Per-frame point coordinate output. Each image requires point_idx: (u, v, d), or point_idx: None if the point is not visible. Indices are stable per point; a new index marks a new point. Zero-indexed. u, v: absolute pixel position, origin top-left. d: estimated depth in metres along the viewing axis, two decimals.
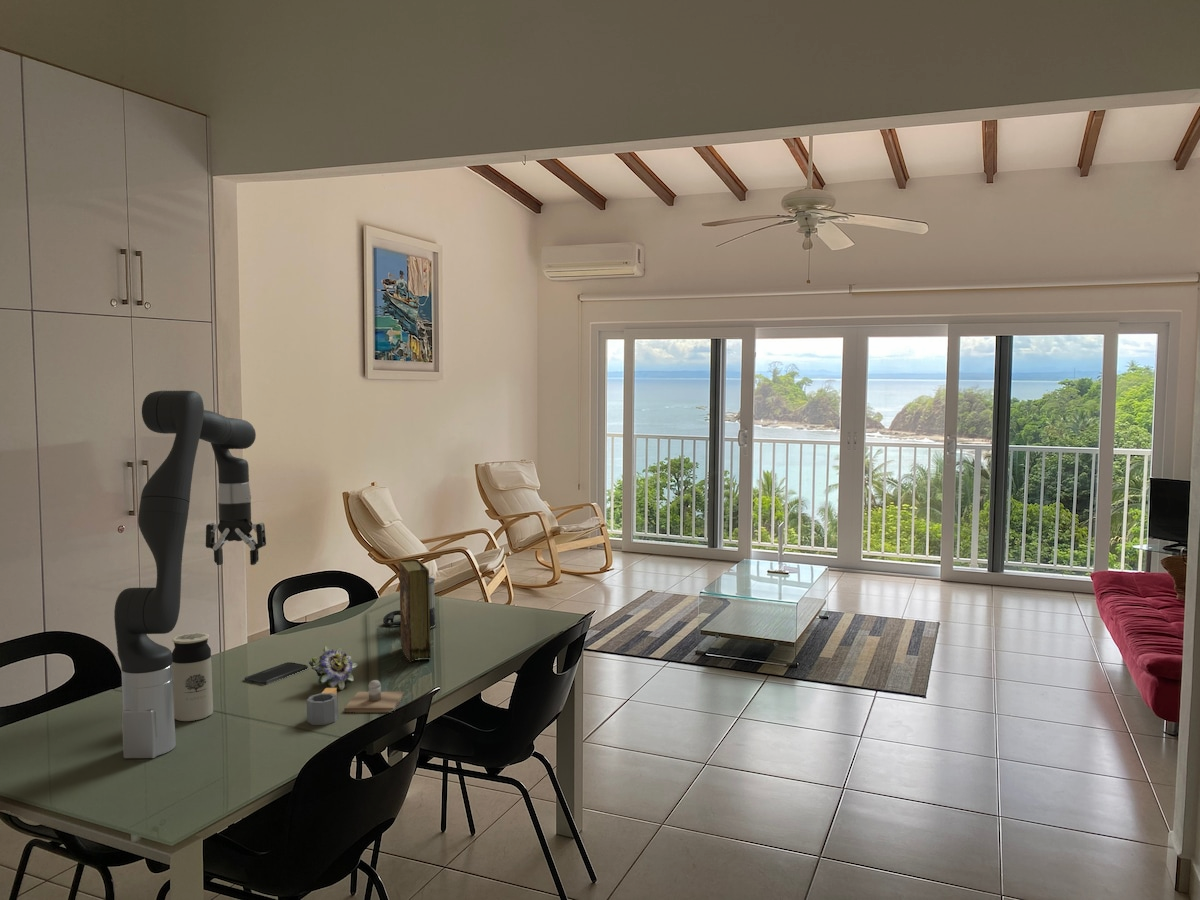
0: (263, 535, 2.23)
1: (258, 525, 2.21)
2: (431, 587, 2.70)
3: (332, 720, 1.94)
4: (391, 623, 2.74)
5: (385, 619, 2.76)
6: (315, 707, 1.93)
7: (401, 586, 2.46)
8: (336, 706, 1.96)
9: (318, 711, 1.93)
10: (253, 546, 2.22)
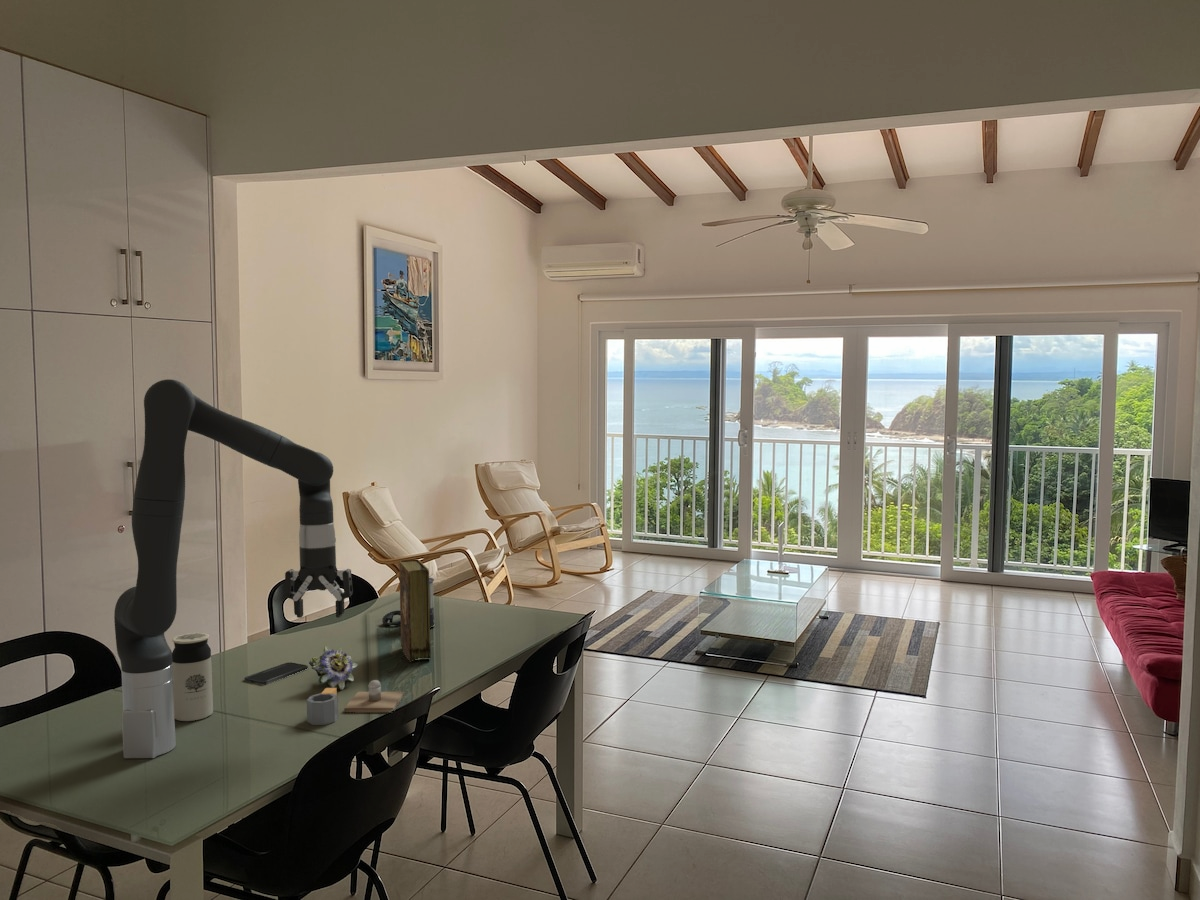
0: (350, 583, 1.94)
1: (345, 572, 1.93)
2: (430, 587, 2.70)
3: (332, 720, 1.94)
4: (390, 623, 2.74)
5: (384, 619, 2.76)
6: (315, 707, 1.93)
7: (401, 586, 2.46)
8: (336, 706, 1.96)
9: (318, 711, 1.93)
10: (339, 596, 1.93)
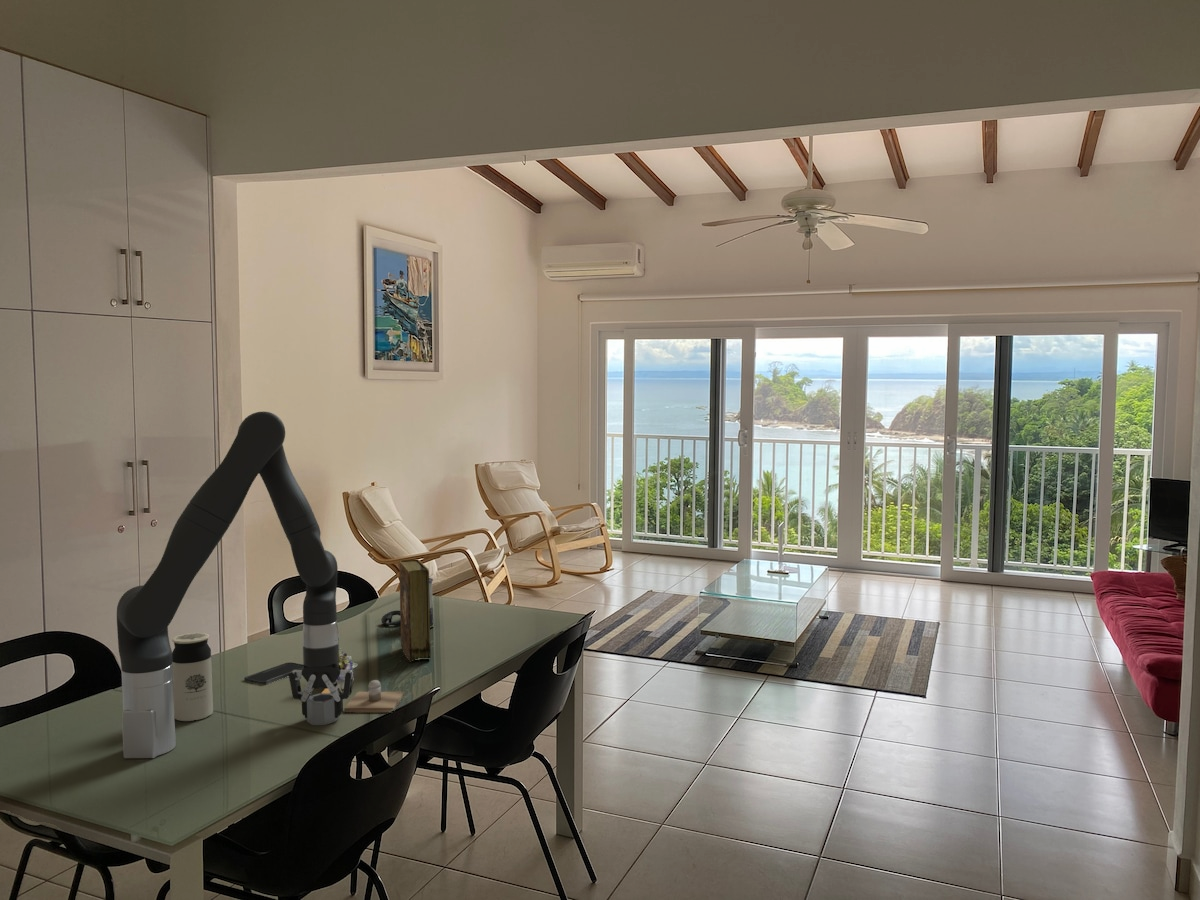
0: (351, 684, 1.95)
1: (348, 674, 1.94)
2: (429, 587, 2.70)
3: (332, 720, 1.94)
4: (389, 623, 2.74)
5: (383, 619, 2.76)
6: (315, 707, 1.93)
7: (401, 586, 2.46)
8: None
9: (318, 711, 1.93)
10: (338, 697, 1.94)
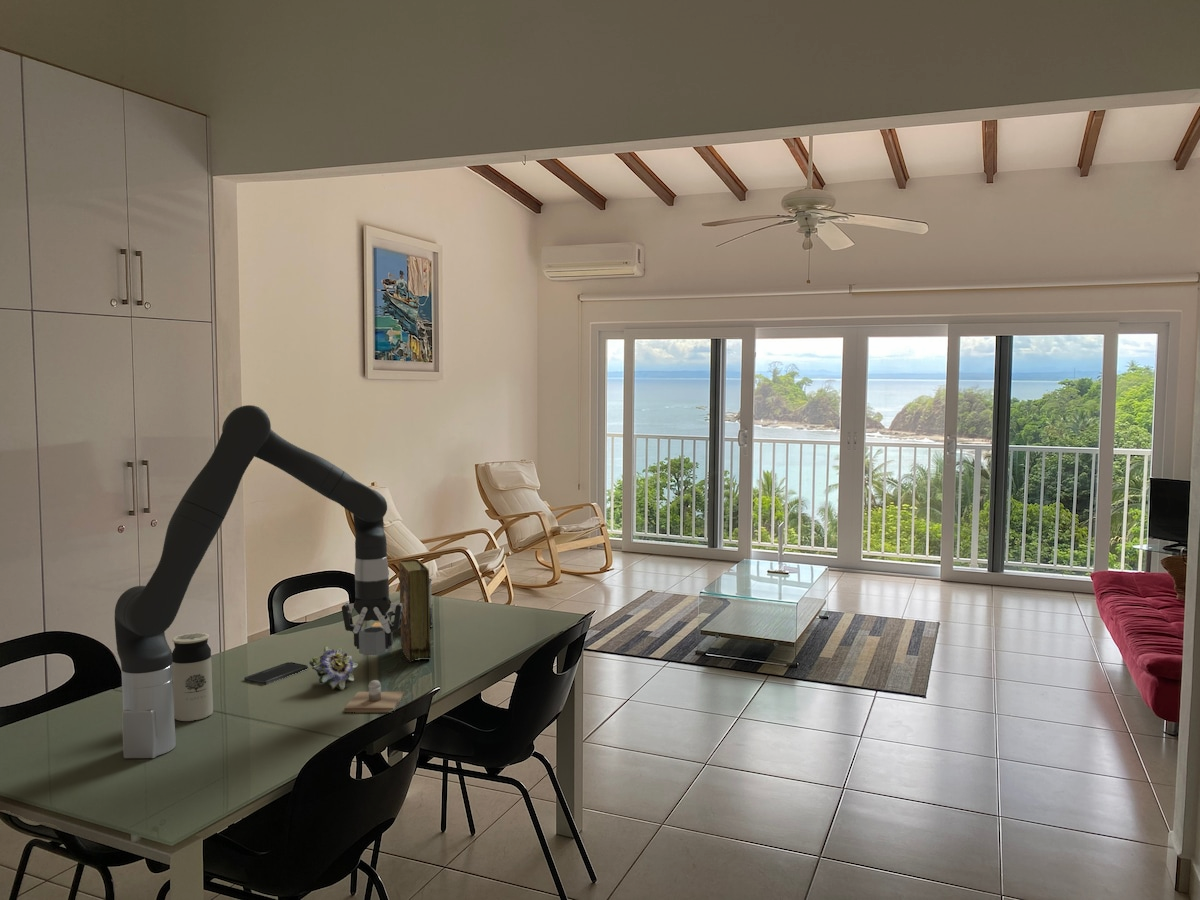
0: (400, 617, 2.05)
1: (398, 606, 2.03)
2: None
3: (383, 651, 2.04)
4: None
5: None
6: (367, 638, 2.02)
7: (401, 586, 2.46)
8: None
9: (370, 641, 2.02)
10: (388, 629, 2.04)
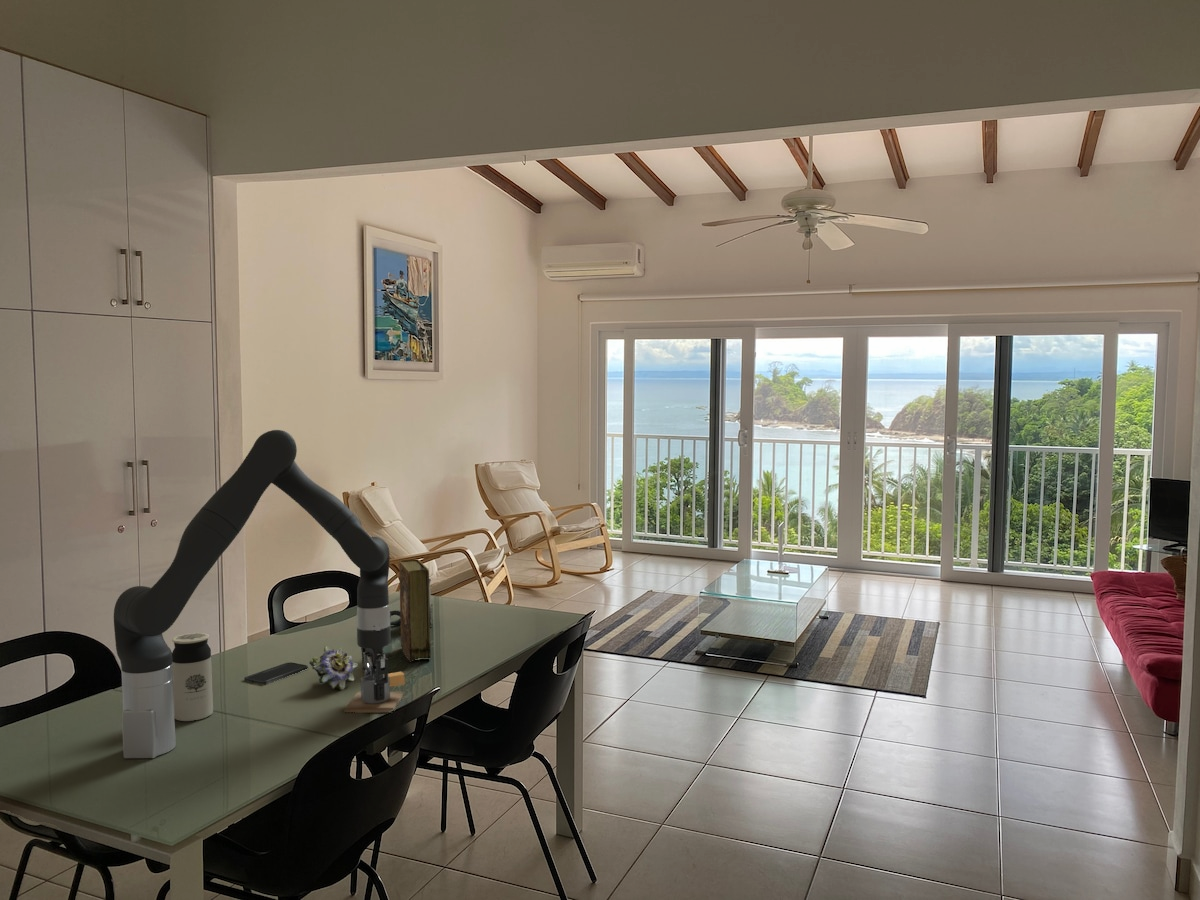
0: (382, 672, 2.00)
1: (376, 661, 1.99)
2: None
3: (371, 701, 2.03)
4: None
5: None
6: (361, 683, 2.04)
7: (401, 586, 2.46)
8: None
9: (362, 688, 2.04)
10: (374, 681, 2.01)
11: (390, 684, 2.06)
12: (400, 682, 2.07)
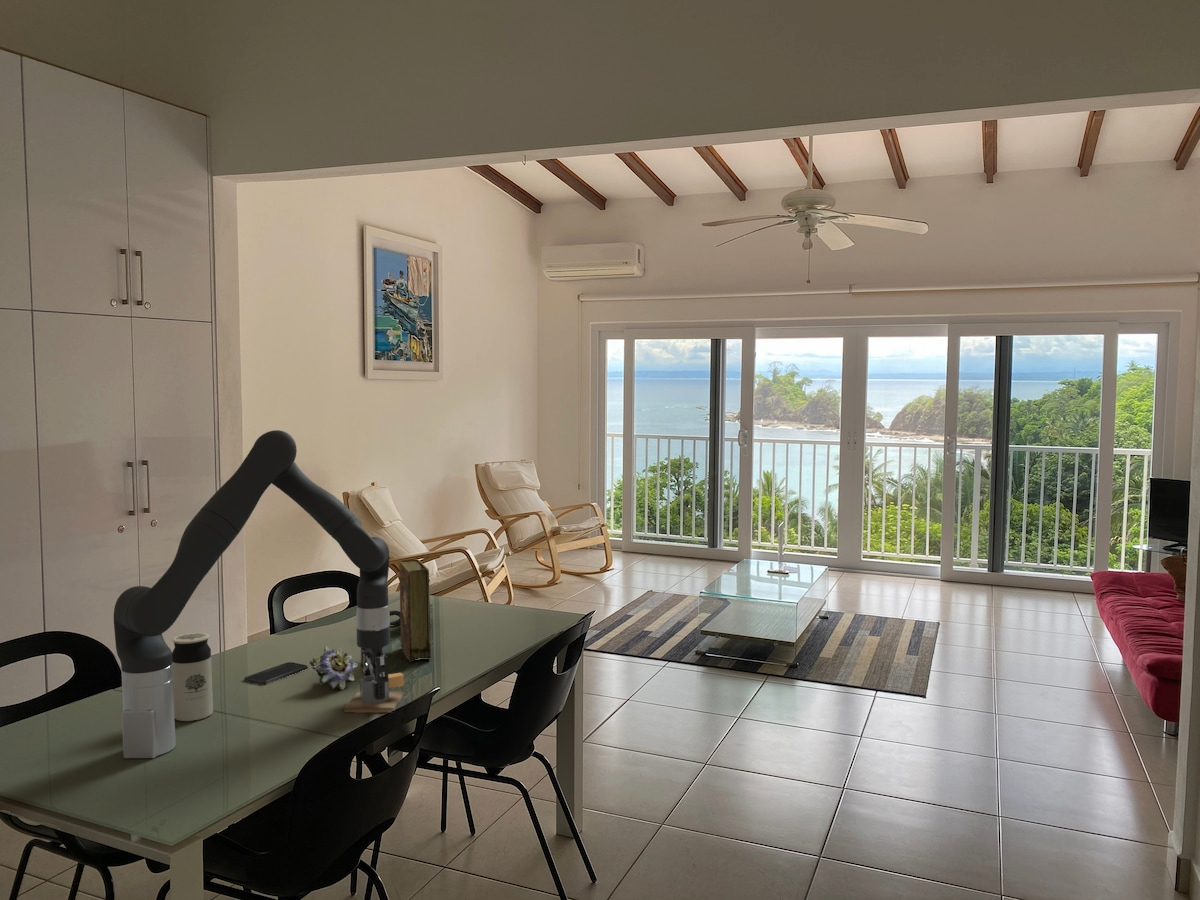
0: (382, 670, 1.99)
1: (375, 658, 1.99)
2: None
3: (371, 702, 2.03)
4: None
5: None
6: (360, 684, 2.05)
7: (401, 586, 2.46)
8: None
9: (361, 689, 2.04)
10: (374, 680, 2.01)
11: (389, 685, 2.06)
12: (399, 683, 2.07)
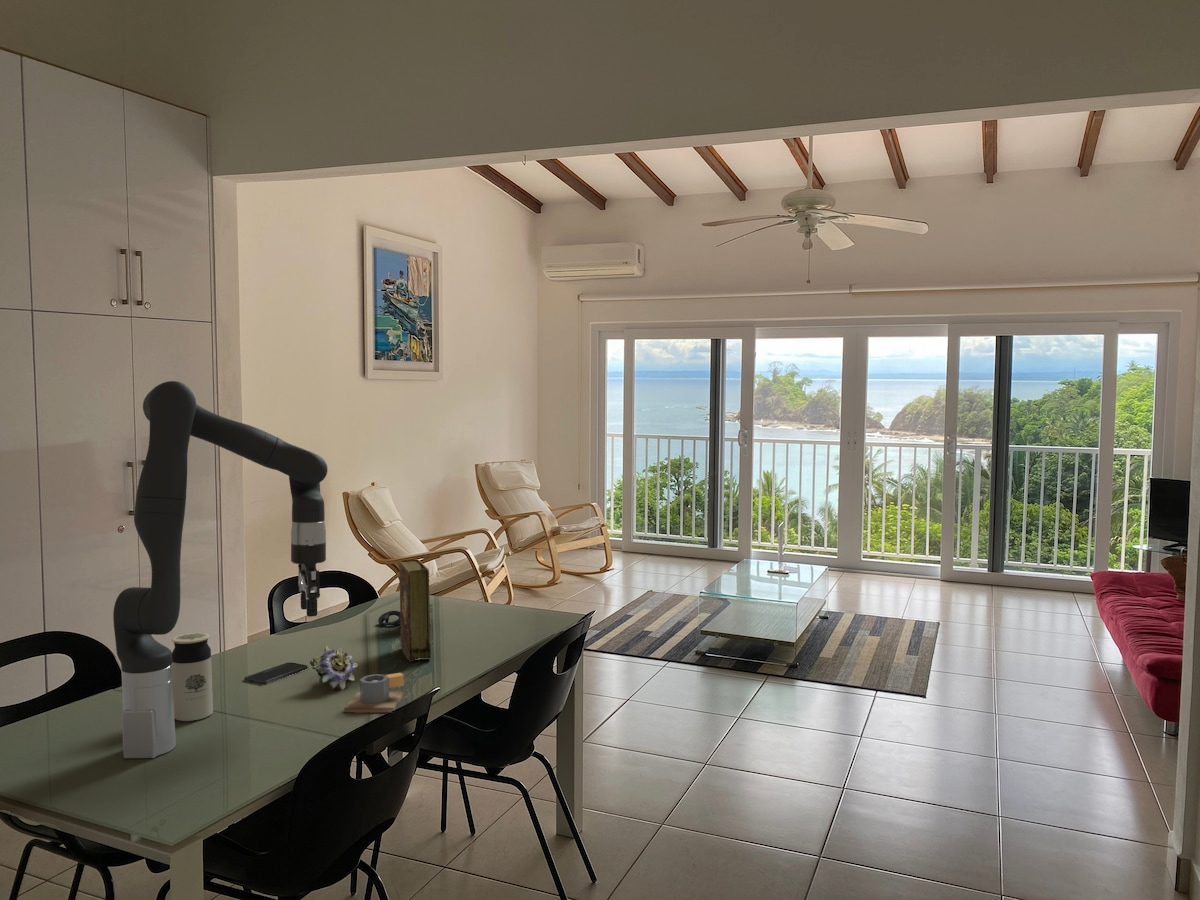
0: (313, 585, 1.95)
1: (307, 572, 1.95)
2: None
3: (371, 702, 2.03)
4: (386, 623, 2.74)
5: (380, 619, 2.76)
6: (360, 684, 2.05)
7: (401, 586, 2.46)
8: (379, 690, 2.03)
9: (361, 689, 2.04)
10: (306, 595, 1.96)
11: (389, 685, 2.06)
12: (399, 683, 2.07)
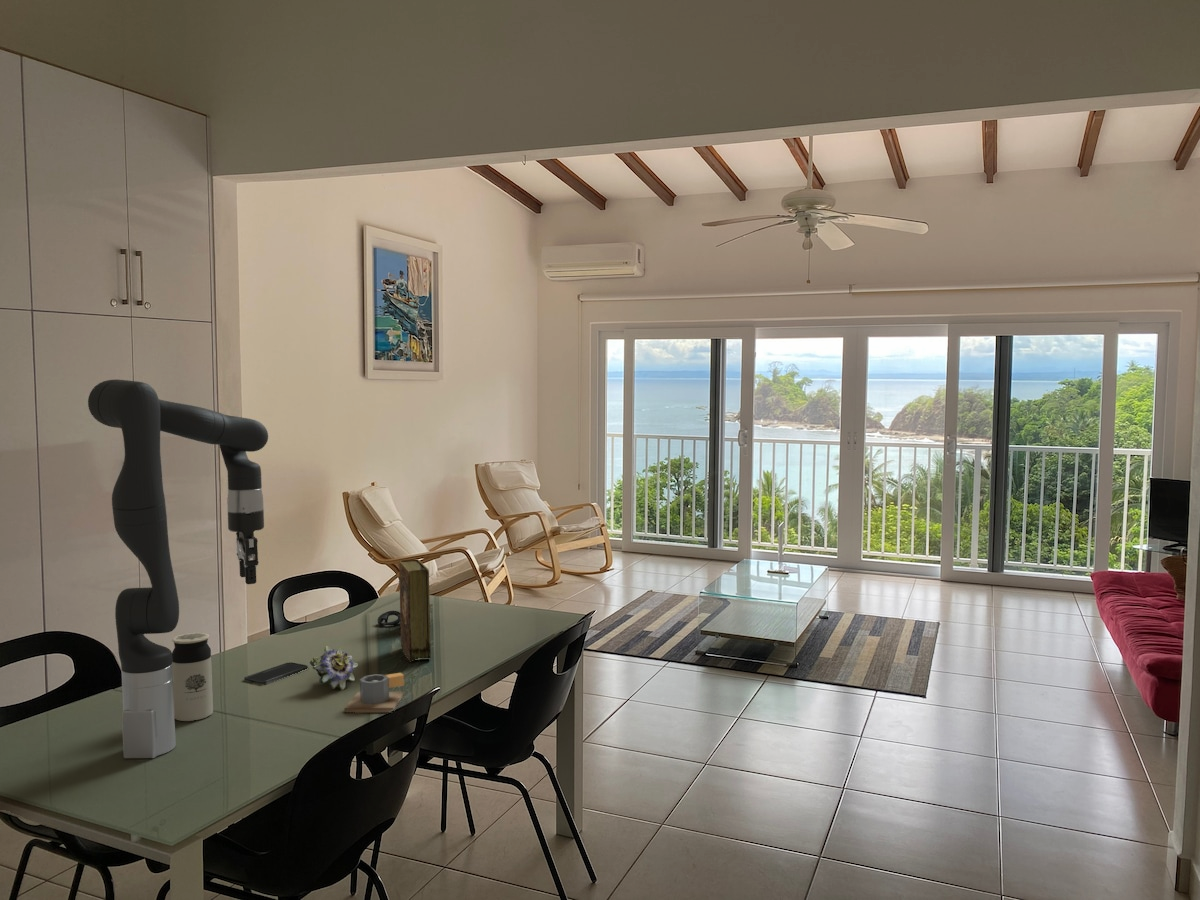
0: (251, 552, 1.94)
1: (244, 540, 1.93)
2: None
3: (371, 702, 2.03)
4: (385, 623, 2.74)
5: (379, 619, 2.76)
6: (360, 684, 2.05)
7: (401, 586, 2.46)
8: (379, 690, 2.03)
9: (361, 689, 2.04)
10: (244, 563, 1.95)
11: (389, 685, 2.06)
12: (399, 683, 2.07)
